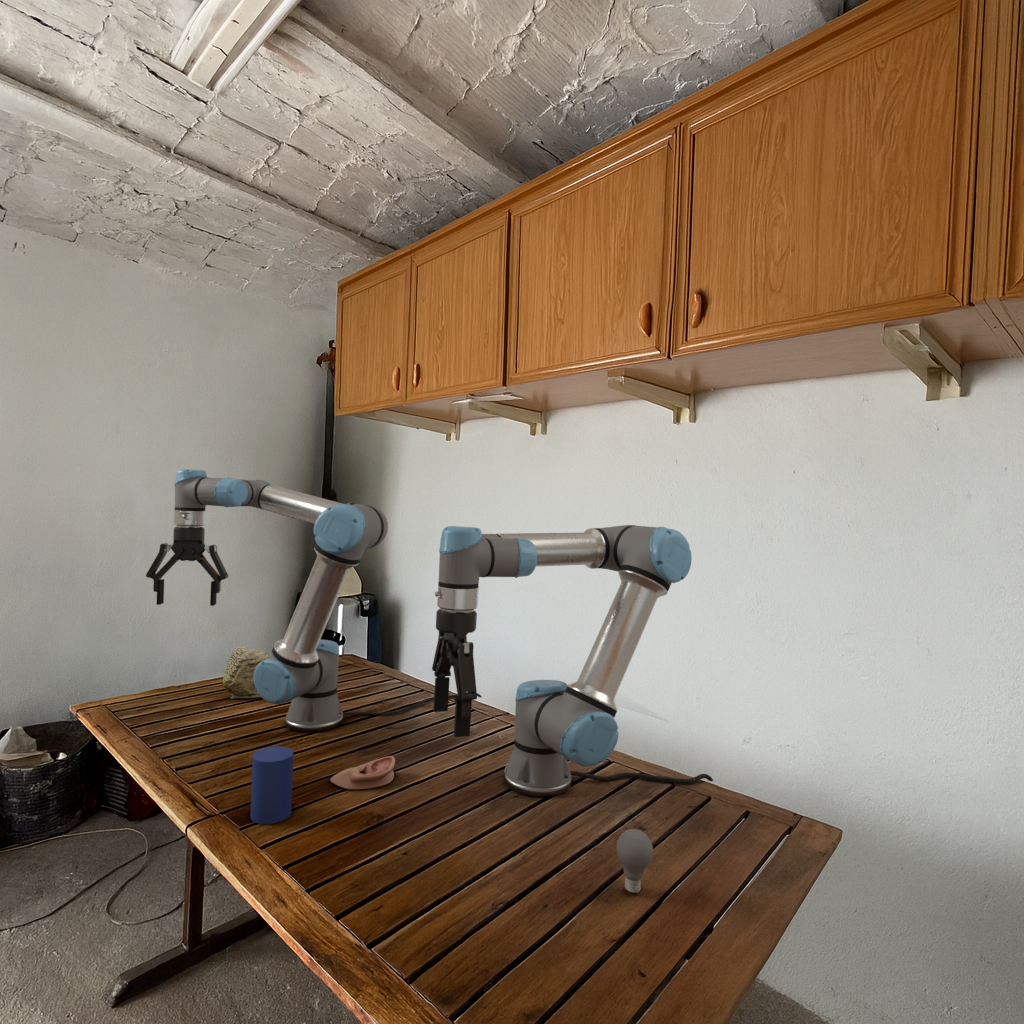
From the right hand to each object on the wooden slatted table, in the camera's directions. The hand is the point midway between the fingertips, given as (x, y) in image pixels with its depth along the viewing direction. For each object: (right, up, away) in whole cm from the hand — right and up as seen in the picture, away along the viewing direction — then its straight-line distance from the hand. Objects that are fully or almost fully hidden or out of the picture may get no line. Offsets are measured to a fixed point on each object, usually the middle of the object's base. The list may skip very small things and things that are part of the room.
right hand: (450, 723), depth 118 cm
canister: (-36, -21, +8) cm, 43 cm away
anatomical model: (-22, -21, +25) cm, 39 cm away
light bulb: (+32, -24, -12) cm, 42 cm away
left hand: (-77, +14, +54) cm, 95 cm away
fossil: (-69, -18, +80) cm, 107 cm away
